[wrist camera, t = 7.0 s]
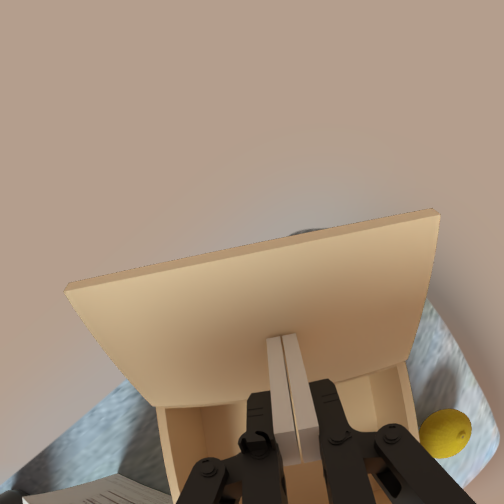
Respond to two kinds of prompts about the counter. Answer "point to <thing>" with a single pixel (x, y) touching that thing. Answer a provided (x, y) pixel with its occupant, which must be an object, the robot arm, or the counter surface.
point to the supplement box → (103, 493)
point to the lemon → (445, 433)
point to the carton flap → (265, 309)
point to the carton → (305, 474)
